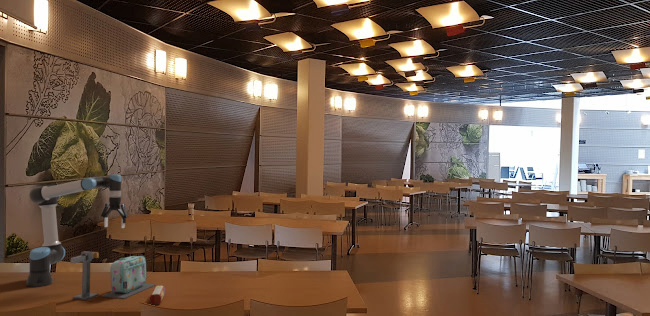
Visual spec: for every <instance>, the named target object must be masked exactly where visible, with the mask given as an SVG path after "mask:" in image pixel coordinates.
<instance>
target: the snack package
mask: <svg viewBox="0 0 650 316" xmlns="http://www.w3.org/2000/svg"><path fill="white" fill-rule="evenodd" d="M153 288H154V289H153V290H152V292H151V294H150V295H149V303H152V304H159V305H160V304H162V300H163V298H164V296H165V294H166V288H165V286H164V285H155V286H154V287H153Z"/></svg>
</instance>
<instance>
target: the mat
mask: <svg viewBox="0 0 650 316" xmlns="http://www.w3.org/2000/svg"><path fill="white" fill-rule="evenodd" d="M154 287H156V284H155V283H154V284H152V283H145V284H144V285H143V286H141V287H139V288H137V289H135V290H133V291H131V292H128V293H117V292H113V291H112V290H111V291H110V292H108V293H105V294H102V295H101V297H104V298H110V299H111V298H112V299H123V300H125V299H127V298H130V297H132V296H135V295H136V294H139V293H141V292H143V291H146V290H148V289H150V288H154Z"/></svg>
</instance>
